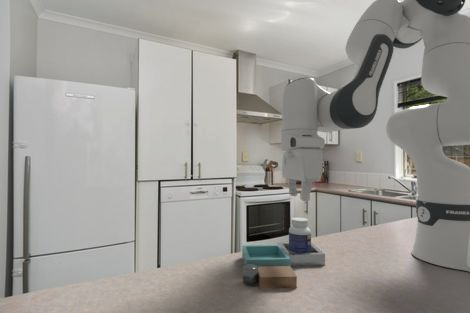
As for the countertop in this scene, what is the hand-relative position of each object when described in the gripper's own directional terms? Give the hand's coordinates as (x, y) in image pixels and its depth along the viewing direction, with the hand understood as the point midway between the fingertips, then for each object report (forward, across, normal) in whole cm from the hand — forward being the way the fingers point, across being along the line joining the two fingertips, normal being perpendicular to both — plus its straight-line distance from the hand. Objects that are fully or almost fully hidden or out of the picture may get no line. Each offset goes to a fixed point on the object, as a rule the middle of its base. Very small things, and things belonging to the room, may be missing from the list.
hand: (298, 198), depth 64 cm
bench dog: (+15, +12, -13) cm, 23 cm away
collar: (+15, 0, 0) cm, 15 cm away
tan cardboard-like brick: (+16, +12, -8) cm, 21 cm away
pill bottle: (+15, 0, 0) cm, 15 cm away
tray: (+15, +3, -9) cm, 18 cm away
